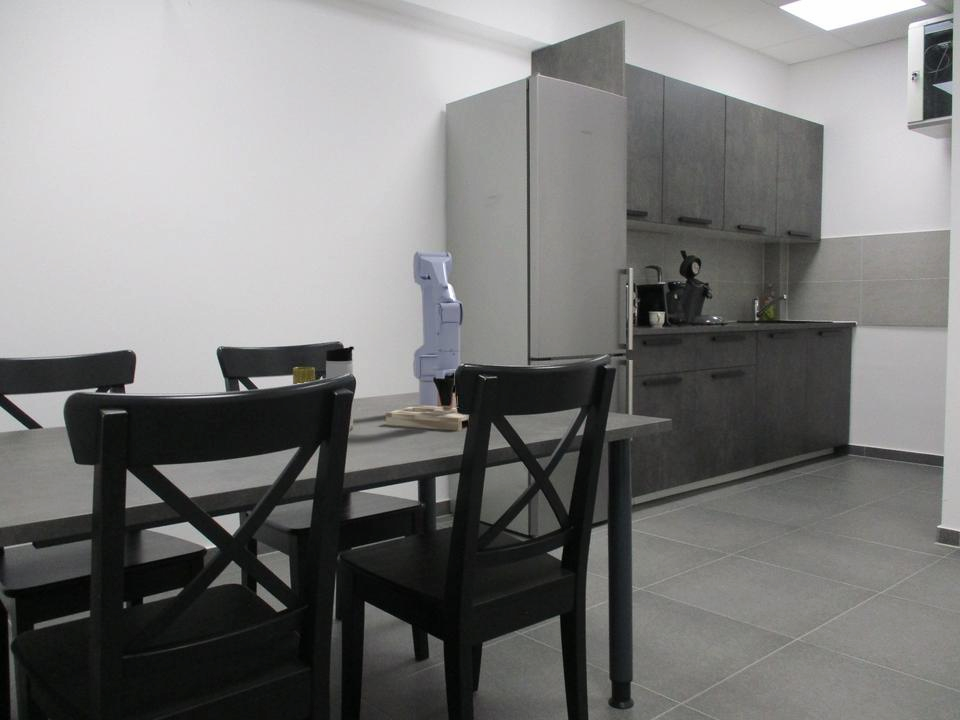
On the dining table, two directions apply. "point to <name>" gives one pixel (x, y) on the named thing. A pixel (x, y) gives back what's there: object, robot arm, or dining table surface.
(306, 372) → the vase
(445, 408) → the keyhole peg
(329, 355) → the travel mug
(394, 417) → the keyhole plate
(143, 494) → the dining table surface
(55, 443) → the dining table surface
